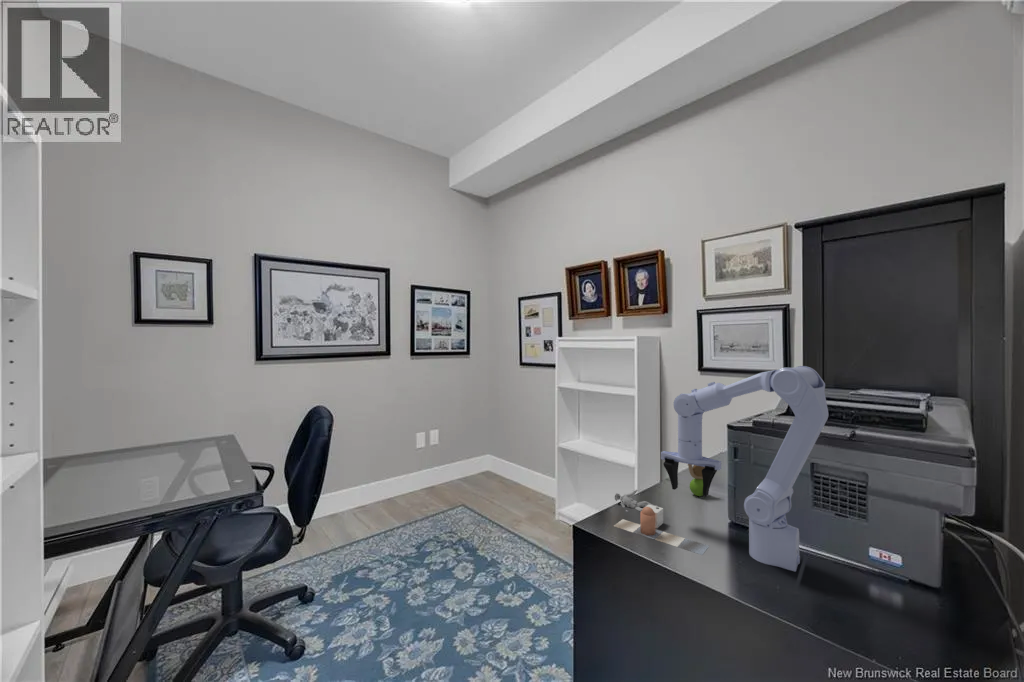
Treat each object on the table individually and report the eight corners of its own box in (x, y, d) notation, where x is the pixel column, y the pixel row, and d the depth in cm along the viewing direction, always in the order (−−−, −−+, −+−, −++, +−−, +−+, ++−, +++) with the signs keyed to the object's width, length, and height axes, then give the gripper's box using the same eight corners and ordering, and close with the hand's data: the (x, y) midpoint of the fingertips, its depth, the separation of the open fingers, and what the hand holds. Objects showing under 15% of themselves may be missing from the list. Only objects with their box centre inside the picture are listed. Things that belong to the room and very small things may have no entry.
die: (663, 523, 109) (663, 507, 109) (657, 528, 106) (657, 512, 106) (648, 519, 111) (648, 503, 111) (642, 523, 108) (642, 508, 108)
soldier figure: (648, 524, 112) (608, 501, 118) (648, 530, 116) (609, 507, 122) (660, 500, 116) (620, 479, 122) (659, 506, 119) (621, 485, 125)
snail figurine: (683, 492, 132) (683, 455, 132) (702, 492, 133) (701, 455, 133) (692, 499, 127) (692, 460, 127) (712, 498, 128) (711, 460, 128)
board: (717, 540, 101) (717, 537, 101) (702, 560, 92) (702, 556, 92) (631, 515, 115) (631, 512, 115) (610, 530, 106) (610, 526, 106)
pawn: (657, 531, 104) (657, 506, 104) (652, 536, 101) (652, 511, 101) (643, 527, 106) (643, 503, 106) (638, 532, 103) (638, 507, 103)
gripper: (724, 441, 105) (724, 494, 105) (667, 432, 114) (667, 481, 114) (716, 446, 99) (716, 502, 99) (657, 437, 109) (657, 488, 109)
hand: (689, 491), depth 106 cm, fingers open, 7 cm apart
